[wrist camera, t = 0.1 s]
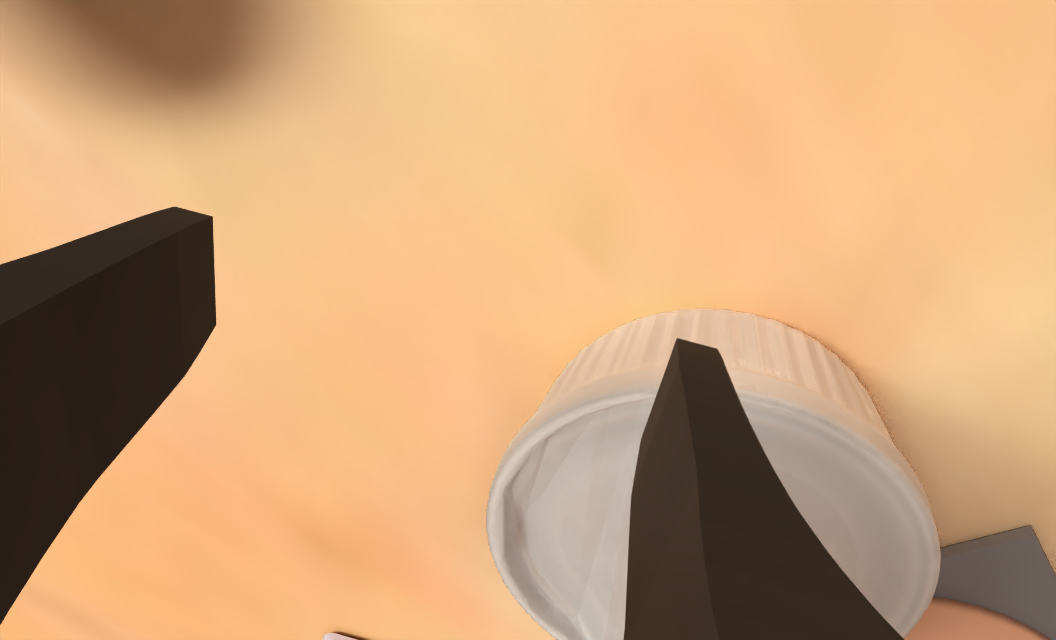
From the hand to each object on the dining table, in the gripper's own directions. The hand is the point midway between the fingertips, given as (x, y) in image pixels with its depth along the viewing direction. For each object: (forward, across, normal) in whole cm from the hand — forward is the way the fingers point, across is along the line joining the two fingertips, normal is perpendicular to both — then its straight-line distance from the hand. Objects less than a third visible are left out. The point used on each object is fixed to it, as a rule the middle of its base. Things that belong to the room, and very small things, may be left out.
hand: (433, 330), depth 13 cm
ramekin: (+10, -7, +9) cm, 15 cm away
